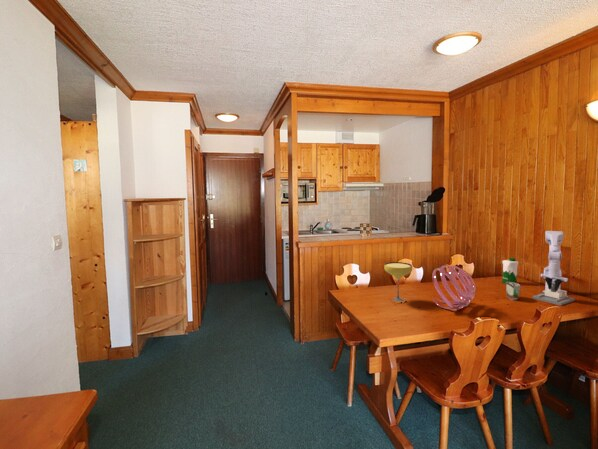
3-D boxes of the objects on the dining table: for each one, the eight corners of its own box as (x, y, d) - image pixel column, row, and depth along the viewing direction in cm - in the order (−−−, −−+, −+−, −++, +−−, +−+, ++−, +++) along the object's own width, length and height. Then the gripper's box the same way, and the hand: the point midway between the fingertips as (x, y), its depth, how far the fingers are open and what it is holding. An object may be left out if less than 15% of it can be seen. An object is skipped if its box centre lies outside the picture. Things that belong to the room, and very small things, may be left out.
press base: (546, 294, 218) (546, 286, 218) (574, 300, 204) (575, 292, 204) (532, 298, 210) (532, 290, 210) (560, 305, 196) (561, 297, 196)
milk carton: (518, 284, 243) (520, 259, 241) (509, 285, 241) (510, 259, 239) (508, 281, 251) (509, 257, 249) (499, 282, 249) (500, 257, 247)
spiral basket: (411, 274, 205) (448, 255, 188) (433, 277, 222) (468, 260, 205) (429, 316, 191) (471, 300, 174) (451, 315, 208) (491, 301, 191)
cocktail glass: (417, 301, 209) (418, 265, 207) (399, 307, 200) (399, 269, 198) (396, 294, 225) (396, 260, 222) (378, 299, 215) (378, 264, 213)
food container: (524, 301, 204) (524, 286, 204) (513, 301, 206) (514, 286, 205) (515, 295, 217) (515, 281, 216) (505, 295, 218) (505, 281, 217)
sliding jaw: (547, 294, 212) (548, 282, 211) (561, 297, 204) (562, 285, 204) (544, 295, 210) (545, 283, 209) (558, 298, 203) (559, 286, 202)
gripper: (538, 268, 210) (537, 287, 211) (564, 272, 197) (563, 293, 198) (543, 266, 213) (543, 286, 214) (569, 271, 200) (568, 291, 201)
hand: (553, 289), depth 206 cm, fingers closed on sliding jaw, 3 cm apart
